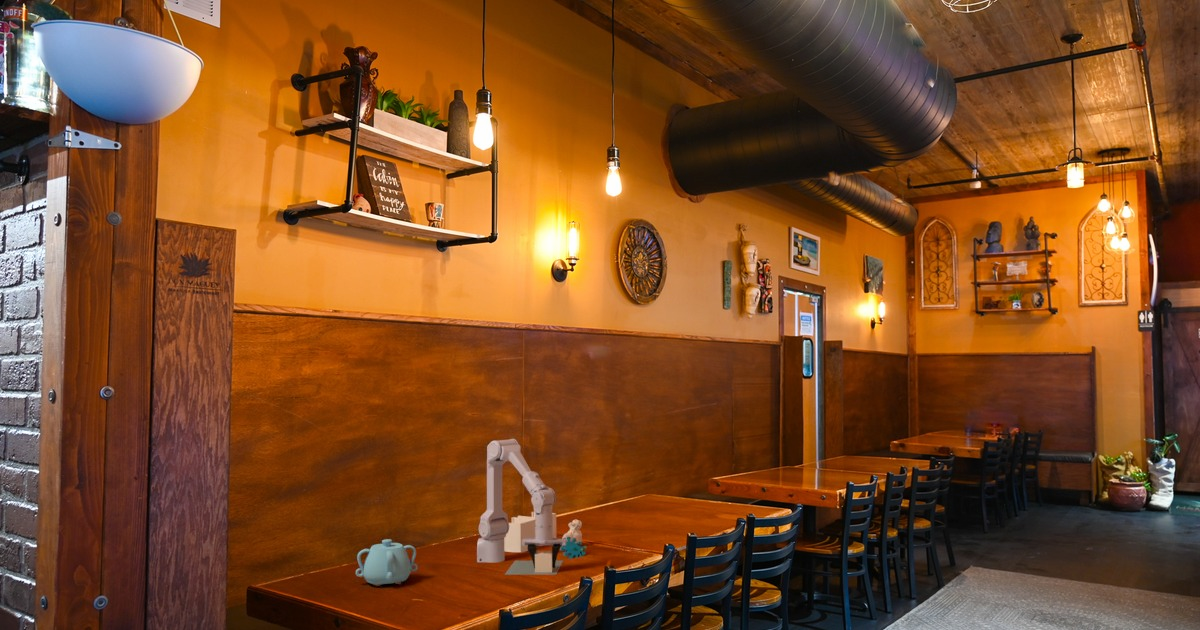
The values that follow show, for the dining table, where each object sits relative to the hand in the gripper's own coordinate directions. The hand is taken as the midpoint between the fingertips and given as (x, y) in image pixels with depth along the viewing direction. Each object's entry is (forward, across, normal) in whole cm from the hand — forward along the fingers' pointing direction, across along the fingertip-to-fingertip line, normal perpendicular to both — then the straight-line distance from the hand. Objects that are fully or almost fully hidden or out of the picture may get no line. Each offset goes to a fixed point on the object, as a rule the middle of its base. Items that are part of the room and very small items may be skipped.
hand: (544, 567), depth 276 cm
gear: (+3, +8, +23) cm, 24 cm away
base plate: (+2, -4, +5) cm, 7 cm away
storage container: (+3, -13, +47) cm, 49 cm away
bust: (+3, +5, +45) cm, 45 cm away
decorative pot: (+3, -50, -10) cm, 51 cm away
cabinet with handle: (+1, 0, 0) cm, 1 cm away
